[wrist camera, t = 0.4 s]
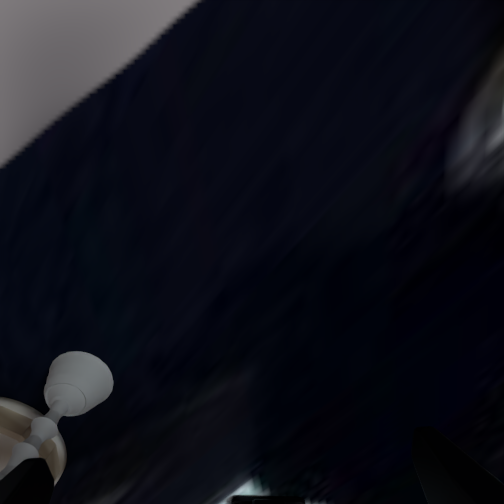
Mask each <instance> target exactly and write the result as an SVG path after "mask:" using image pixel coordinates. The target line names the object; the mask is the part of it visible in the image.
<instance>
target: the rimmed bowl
mask: <svg viewBox="0 0 504 504" xmlns="http://www.w3.org/2000/svg"><path fill="white" fill-rule="evenodd" d="M43 416H44V415H43V414H42V413H40V412H39V411H37V410H36V409H34V408H32V407H30V406H28V405H26V404H24V403H22V402H19V401H17V400H13V399H10V398H5V397H0V472H1V471H2V470H3V469H4V468H5V467H6V465H7V463H8V461H9V460H10V458H11V456H12V448H13V446H14V445H16V444H17V443H20V442H23V441H24V440H26V439H27V438H28V437H29V436H30V434H31V431H32V430H31V423H32V421H33V420H34V419H35V418H38V417H43ZM39 457H42V458H44V459H45V460H46V462H47V464H48V466H49V469H50V471H51V473H52V475H53V478H54V486H55V484H56V483H57V482H58V480H59V478H60V476H61V475H62V473H63V471H64V469H65V466H66V462H67V451H66V446H65V443H64V440H63V438H62V436H61V434H60V433H59V431H58V433H57V435H56V436H55V437H54V438H52V439H48V440H45V441H44V442H43V443H42V444H41V446H40V449H39Z"/></svg>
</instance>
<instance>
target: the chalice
mask: <svg viewBox="0 0 504 504" xmlns="http://www.w3.org/2000/svg"><path fill="white" fill-rule="evenodd" d="M112 388H113V378H112V373H111V372H110V370H109V368H108V367H107V365H106V364H105V363H104V362H103V361H101V360H100V359H99V358H97V357H95V356H93V355H92V354H89V353H85V352H80V351H75V352H67V353H65V354H62V355H60V356H59V357H57V358H56V359H55V360H54V361H53V363H52V364H51V366H50V368H49V375H48V377H47V383H46V385H45V388H44V396H45V400H46V403H47V405H48V406H49V408H50V410H49V412H48V413H47V414H45V415H44V416H43V417H38V418H35V419H34V420H33V421H32V423H31V430H32V431H31V434H30V436H29V437H28V438H27V439H26V440H24V441H23V442H20V443H17V444H16V445H14V446H13V448H12V456H11V458H10V460H9V461H8V463H7V465H6V467H5V468H4V469H3V470H2V471H1V472H0V480H1V479H2V478H4V477H5V476H6V475H7V474H8V473H9V472H10V471H12V470H13V469H14V468H15V467H16V466H17V465H18V464H20V463H21V462H22V461H24V460H25V459H28V458H39V449H40V446H41V444H42V443H43V442H44V441H45V440H48V439H52V438H54V437H55V436H56V435H57V433H58V428H57V424H58V421H59V419H60V418H61V417H62V416H77V415H81V414H84V413H86V412H87V411H88V410H90V409H92V408H93V407H95V406H96V405H97V404H99V403H101V402H103V401H104V400H105V399H107V398H108V396H109V395H110V393H111V392H112Z"/></svg>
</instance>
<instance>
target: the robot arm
mask: <svg viewBox="0 0 504 504" xmlns="http://www.w3.org/2000/svg"><path fill="white" fill-rule="evenodd" d="M411 454H412V459H413V463H414V466H415V468H416V471H417V474H418V477H419V479H420V482H421V485H422V488H423V490H424V493H425V496H426V499H427V501H428V504H504V484H503V483H502V482H500V481H499V480H498V479H497V478H495V477H494V476H493V475H492V474H491V473H489V472H488V471H487V470H486V469H484V468H483V467H482V466H481V465H480V464H478V463H477V462H476V461H475V460H473V459H472V458H471V457H470V456H469V455H467V454H466V453H465V452H464V451H462V450H461V449H460V448H459V447H458V446H456V445H455V444H454V443H453V442H451V441H450V440H449V439H448V438H447V437H445V436H444V435H443V434H442V433H440V432H439V431H438V430H437V429H435V428H434V427H430V426H428V427H417V428H416V429H415V430H414V435H413V442H412V450H411ZM53 490H54V478H53V475H52V473H51V471H50V469H49V466H48V464H47V462H46V460H45V459H44V458H42V457H39V458H28V459H25V460H24V461H22V462H21V463H20V464H18V465H17V466H16V467H15V468H14V469H13V470H12V471H10V472H9V473H8V474H7V475H6V476H5V477H4V478H2V479H1V480H0V504H49V503H50V499H51V496H52V493H53ZM231 504H305V500H304V499H303V498H300V497H245V496H236V497H233V498H232V500H231Z"/></svg>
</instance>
